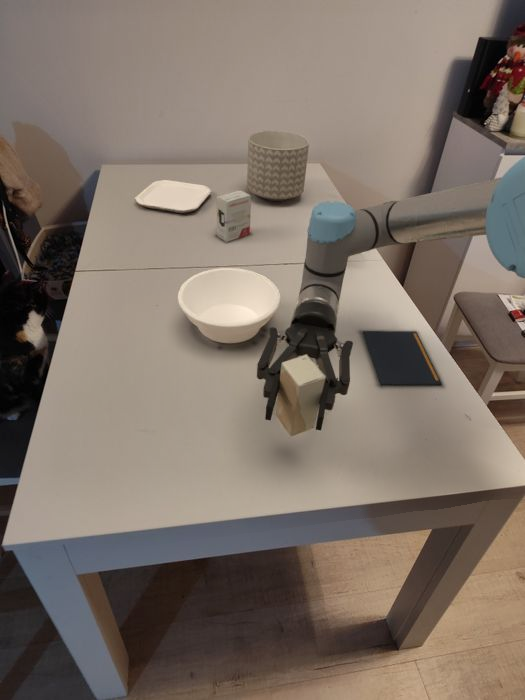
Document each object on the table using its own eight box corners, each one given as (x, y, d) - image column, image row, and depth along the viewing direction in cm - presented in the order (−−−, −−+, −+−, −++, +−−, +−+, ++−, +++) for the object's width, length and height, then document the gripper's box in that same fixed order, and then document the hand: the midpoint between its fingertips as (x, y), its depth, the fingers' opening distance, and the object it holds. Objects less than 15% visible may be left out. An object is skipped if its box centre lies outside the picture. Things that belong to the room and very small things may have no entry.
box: (274, 413, 68) (279, 360, 61) (298, 404, 70) (306, 352, 63) (291, 438, 65) (299, 385, 57) (316, 428, 66) (327, 375, 59)
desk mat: (441, 385, 86) (442, 383, 86) (380, 385, 85) (381, 383, 85) (415, 333, 98) (416, 331, 98) (362, 332, 97) (362, 330, 97)
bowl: (226, 373, 85) (226, 340, 80) (160, 323, 96) (156, 291, 90) (297, 327, 97) (301, 296, 92) (231, 287, 108) (231, 257, 102)
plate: (193, 218, 135) (193, 211, 133) (130, 208, 137) (129, 201, 136) (215, 193, 150) (214, 186, 148) (157, 184, 153) (157, 178, 151)
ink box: (240, 228, 131) (241, 188, 124) (250, 234, 129) (252, 194, 121) (216, 235, 127) (215, 195, 119) (226, 242, 124) (226, 201, 117)
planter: (257, 210, 141) (259, 150, 129) (239, 187, 155) (240, 131, 143) (311, 205, 147) (319, 147, 135) (290, 183, 160) (295, 129, 148)
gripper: (366, 344, 78) (360, 450, 60) (259, 325, 80) (224, 422, 63) (375, 309, 73) (372, 414, 56) (261, 290, 75) (224, 385, 58)
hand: (293, 418), depth 59 cm, fingers closed on box, 6 cm apart
